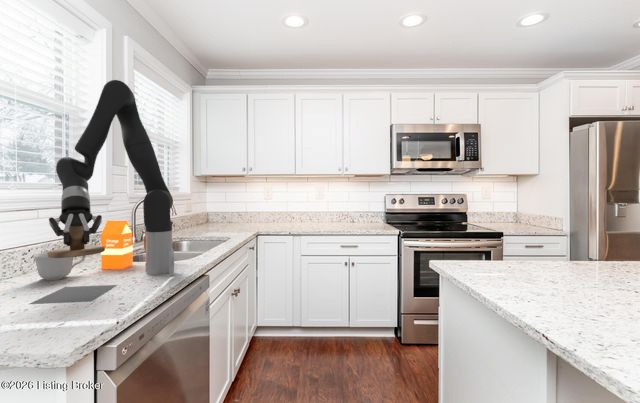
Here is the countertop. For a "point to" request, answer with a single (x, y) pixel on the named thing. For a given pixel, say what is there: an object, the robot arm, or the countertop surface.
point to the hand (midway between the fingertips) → (77, 243)
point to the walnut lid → (76, 246)
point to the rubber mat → (75, 294)
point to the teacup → (54, 266)
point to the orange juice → (116, 245)
